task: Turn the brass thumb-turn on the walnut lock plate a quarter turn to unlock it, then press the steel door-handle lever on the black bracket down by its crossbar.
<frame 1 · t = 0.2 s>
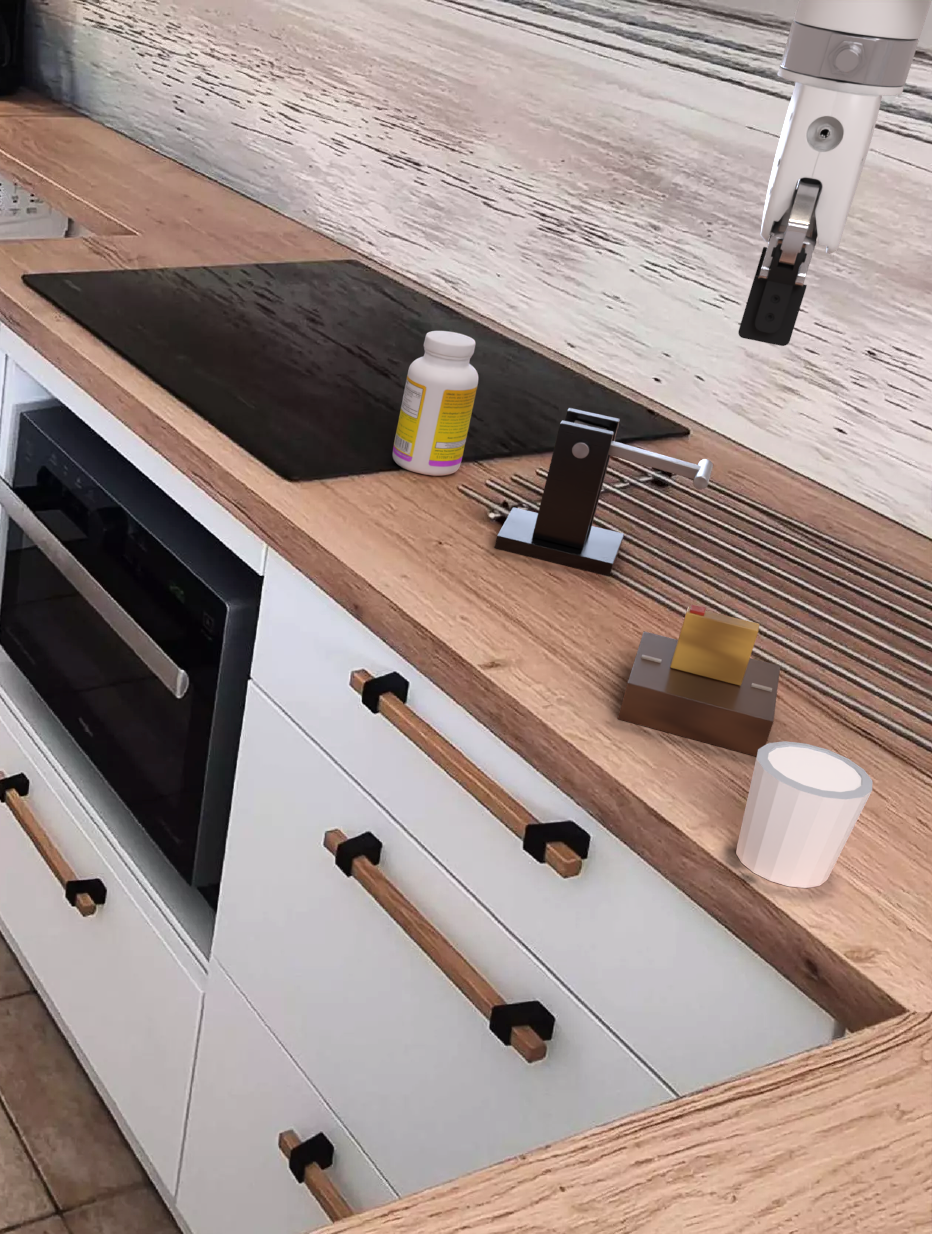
hand: (766, 323, 118), 28 cm above the table, tool pointing down, fingers open, 9 cm apart
door handle: (639, 455, 148), point 10 cm above the table, hinge at -3.5°
handle bracket: (558, 546, 154), on the table
lock plate: (694, 709, 128), on the table
shot glass: (780, 864, 110), on the table
supplement bottle: (424, 467, 170), on the table
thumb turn: (714, 644, 126), point 5 cm above the table, hinge at 0.0°
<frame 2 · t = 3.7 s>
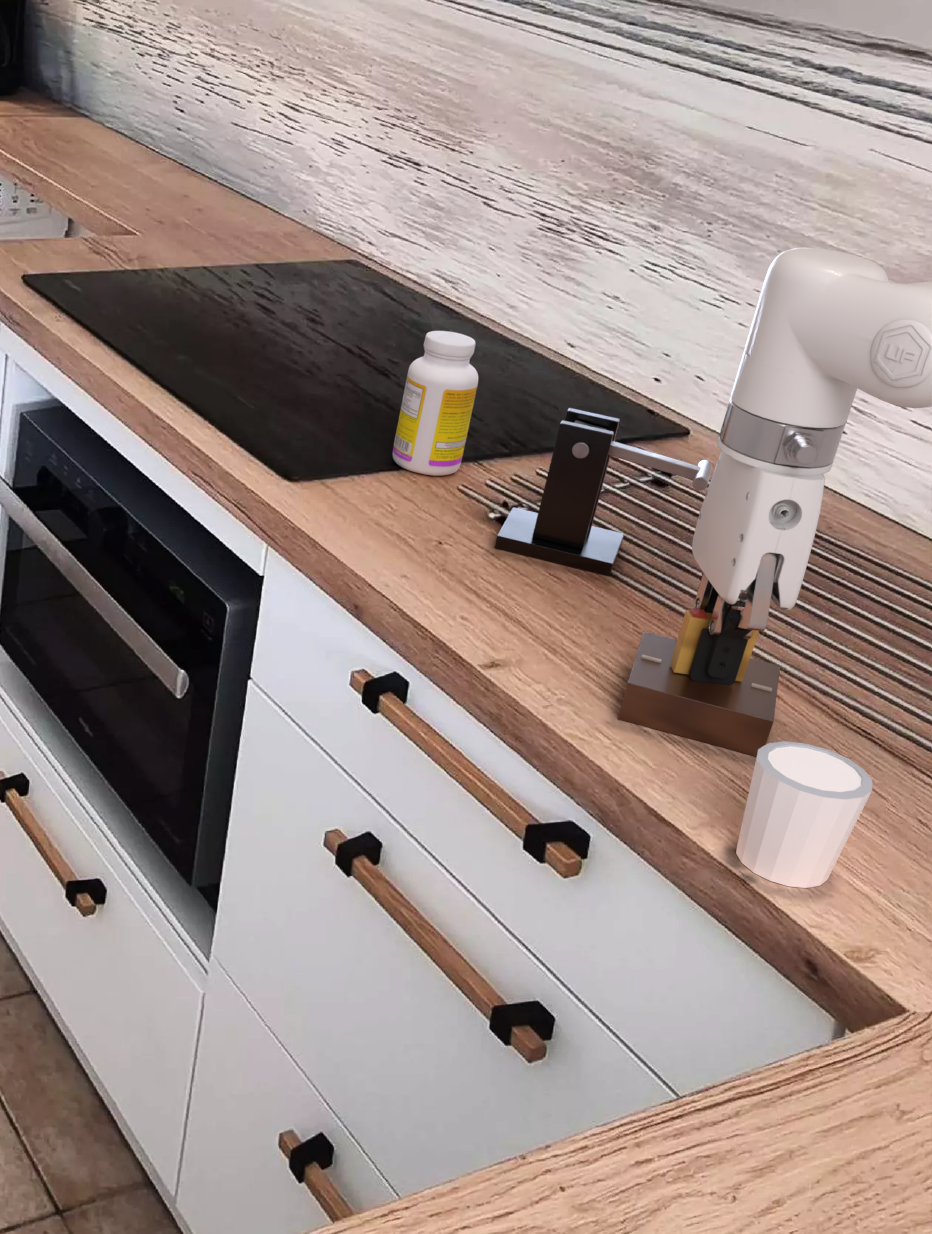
hand: (706, 672, 127), 3 cm above the table, tool pointing down, fingers closed, pressing on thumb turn
door handle: (638, 456, 148), point 10 cm above the table, hinge at -4.0°
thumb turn: (714, 644, 126), point 5 cm above the table, hinge at 17.7°, touching gripper
everything else where it was.
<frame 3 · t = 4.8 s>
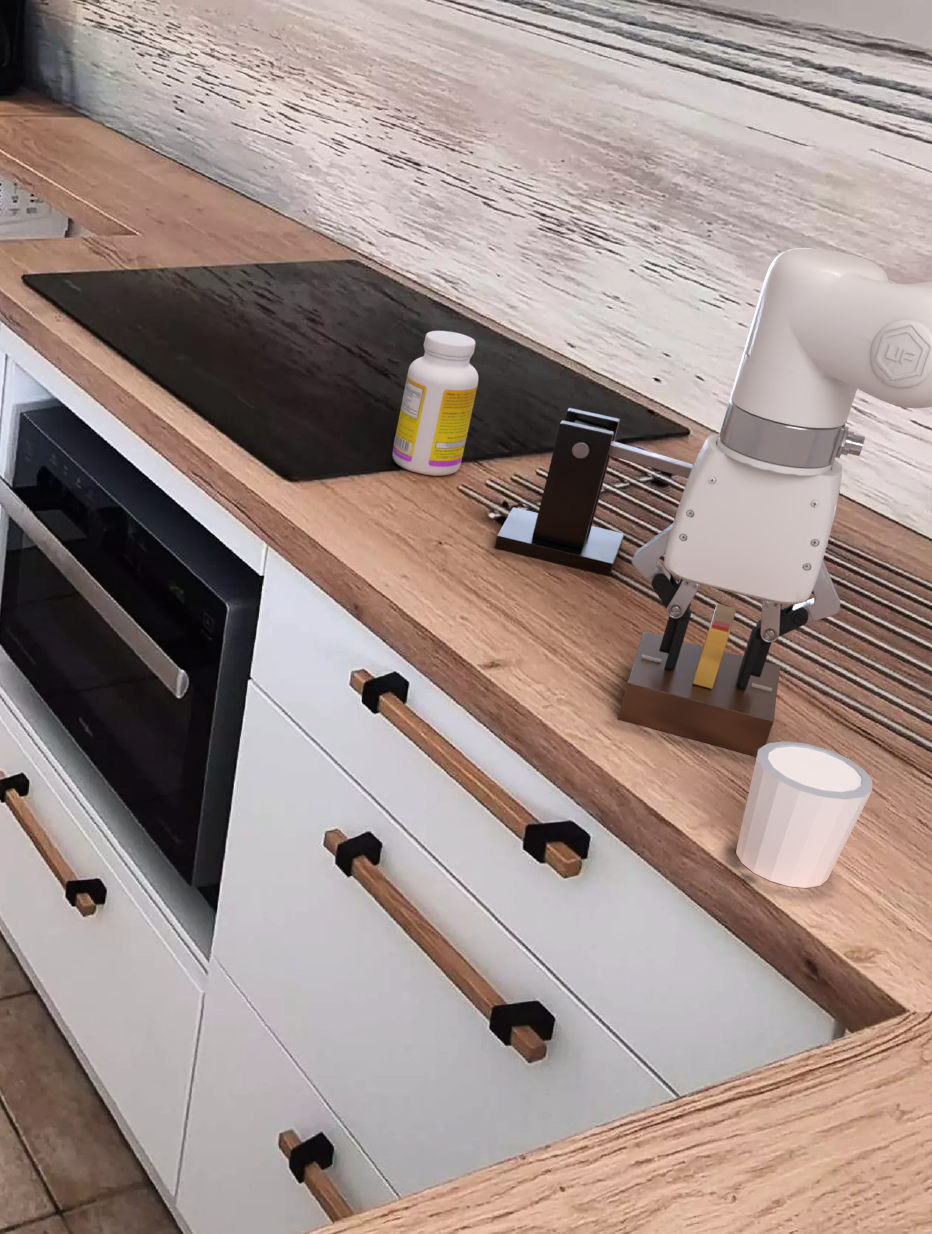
hand: (707, 669, 127), 3 cm above the table, tool pointing down, fingers open, 4 cm apart
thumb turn: (714, 644, 126), point 5 cm above the table, hinge at 88.4°
everything else where it was.
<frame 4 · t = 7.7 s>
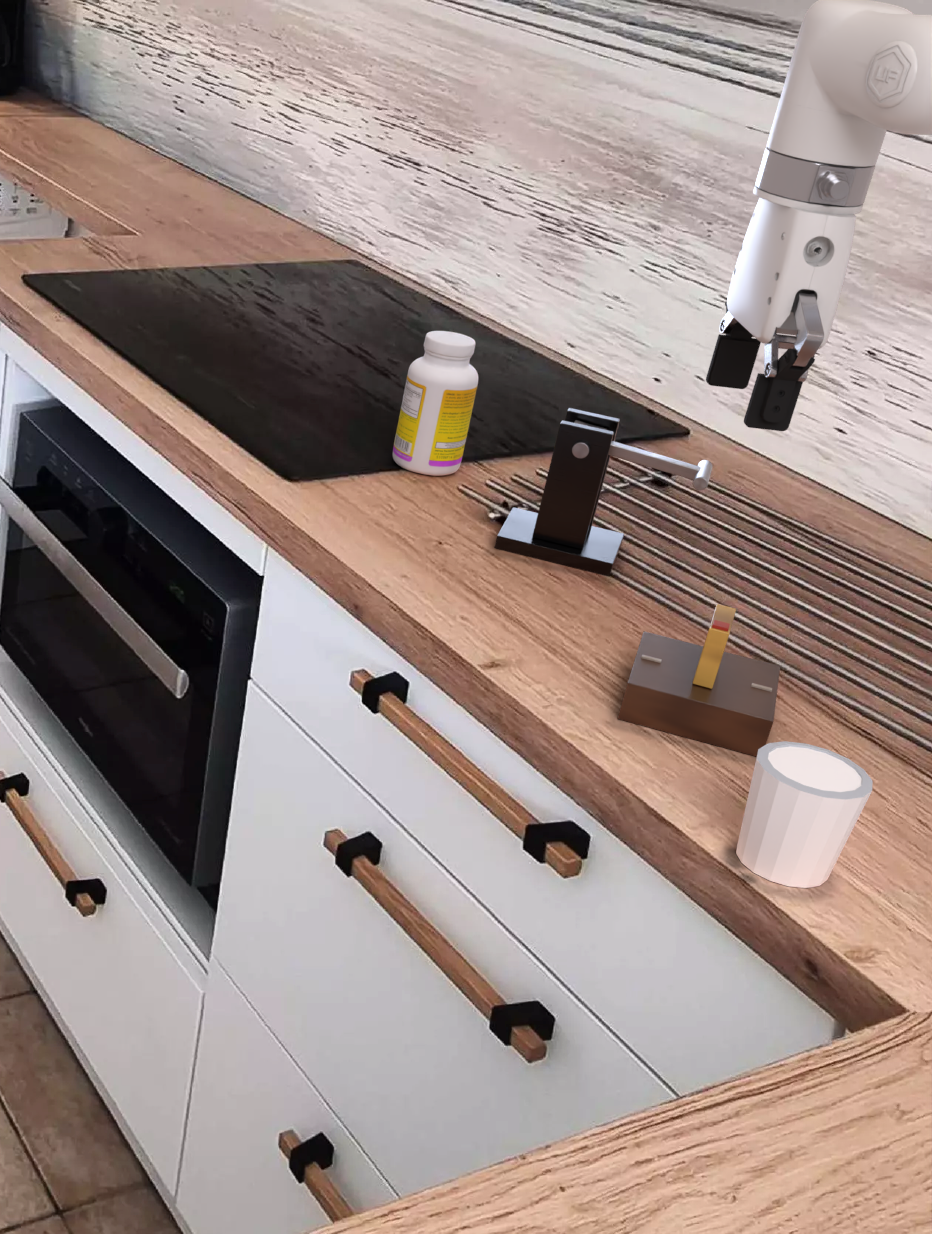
hand: (744, 406, 133), 19 cm above the table, tool pointing down, fingers open, 9 cm apart
nothing on the table moved.
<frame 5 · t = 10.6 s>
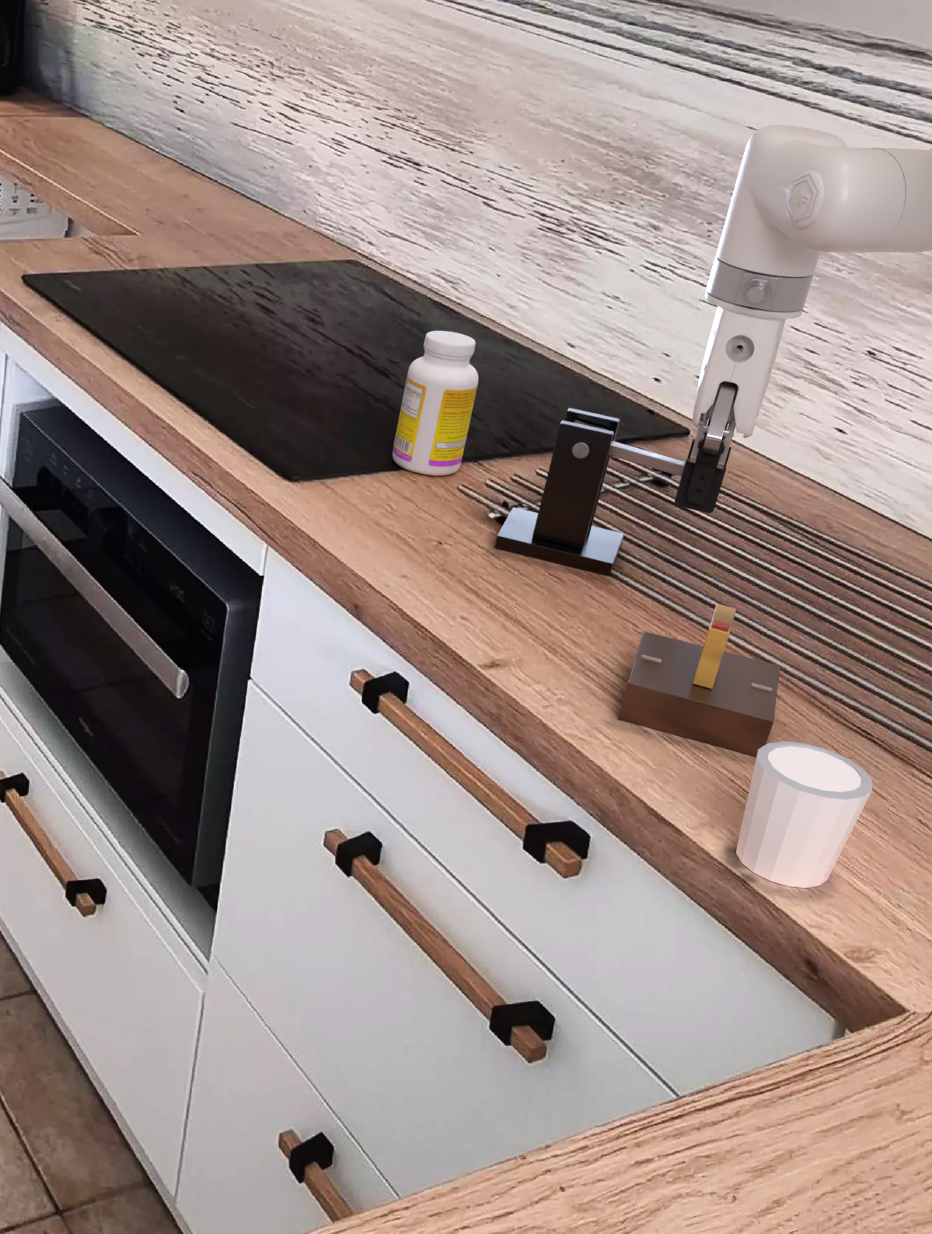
hand: (696, 495, 148), 7 cm above the table, tool pointing down, fingers closed on door handle, 5 cm apart
door handle: (638, 456, 148), point 10 cm above the table, hinge at -4.0°, touching gripper
everything else where it was.
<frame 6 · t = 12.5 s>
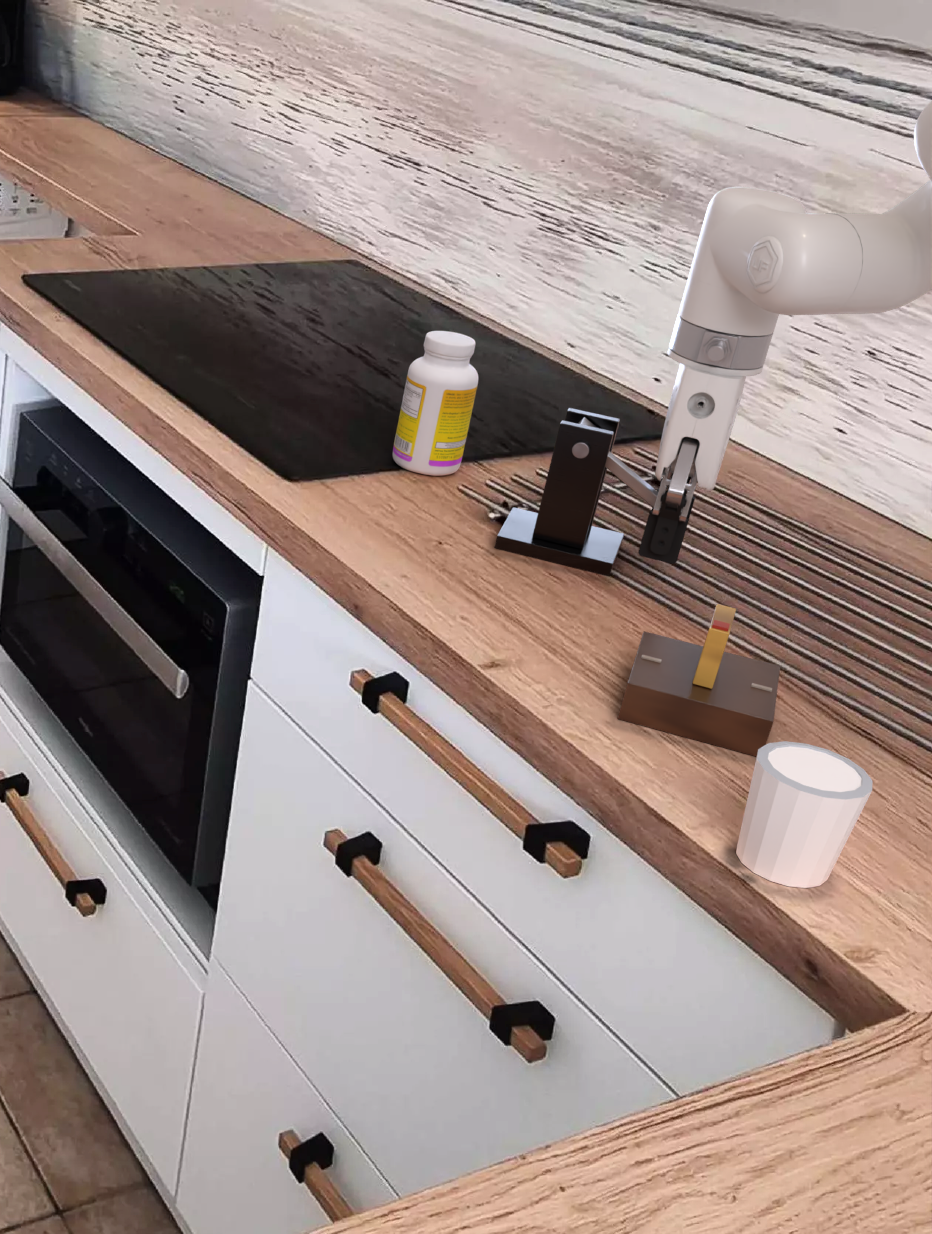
hand: (661, 544, 150), 2 cm above the table, tool pointing down, fingers open, 5 cm apart
door handle: (626, 475, 149), point 8 cm above the table, hinge at -28.4°
everything else where it was.
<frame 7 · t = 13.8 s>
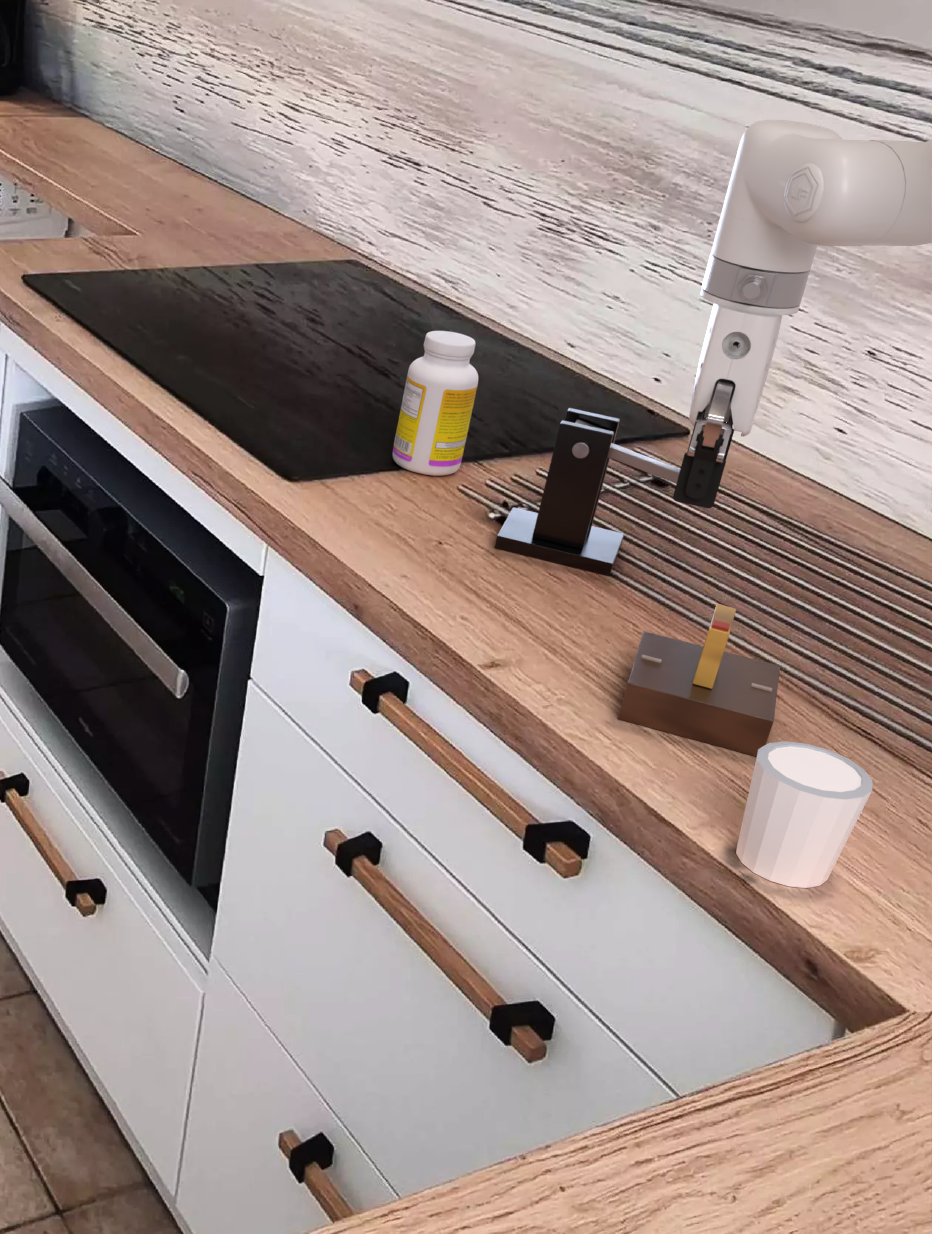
hand: (697, 486, 145), 9 cm above the table, tool pointing down, fingers open, 9 cm apart
door handle: (637, 460, 148), point 9 cm above the table, hinge at -8.9°, touching gripper
everything else where it was.
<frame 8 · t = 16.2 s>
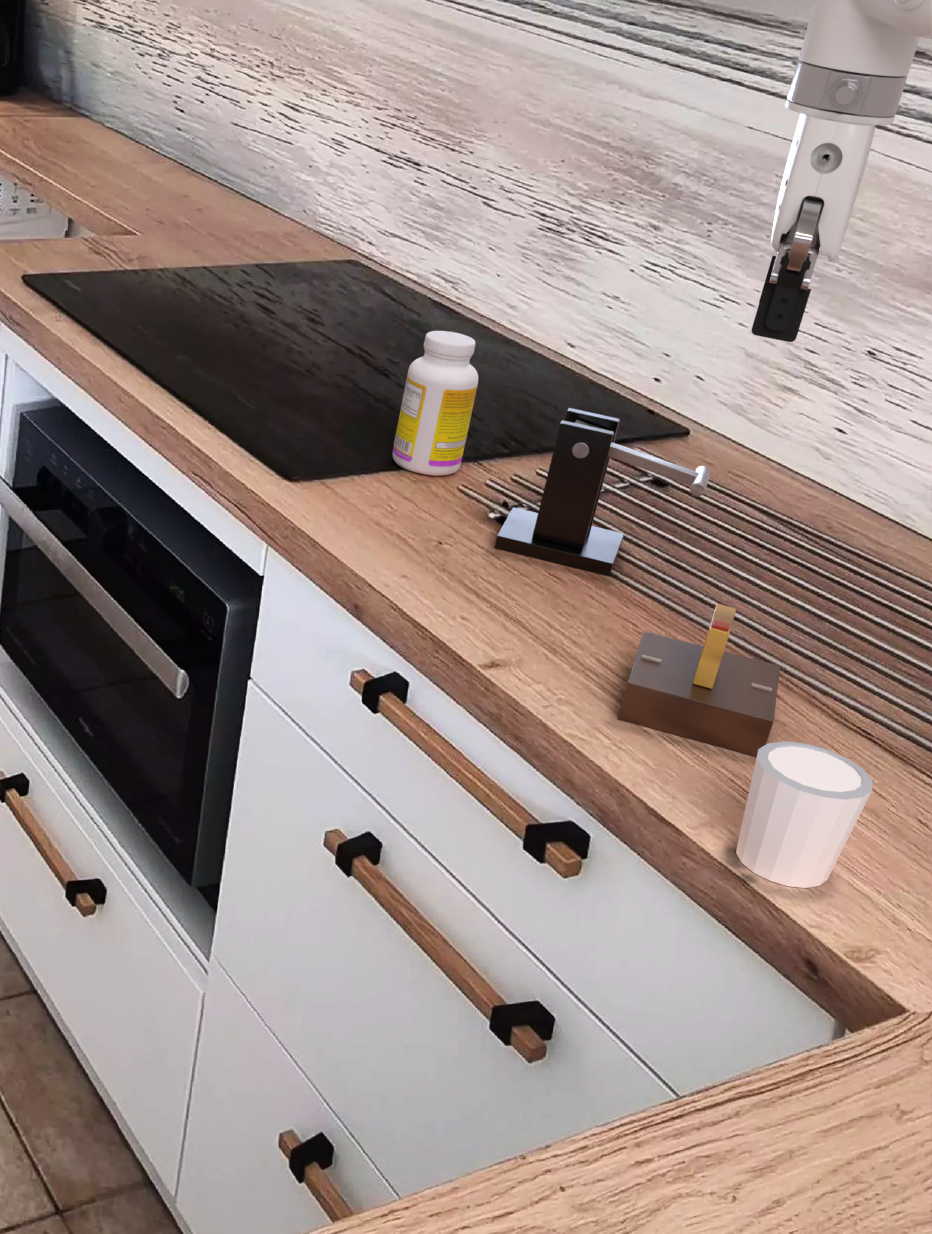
hand: (775, 323, 134), 24 cm above the table, tool pointing down, fingers open, 9 cm apart
door handle: (637, 459, 148), point 9 cm above the table, hinge at -7.2°
everything else where it was.
at the end: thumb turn at +88° (first picture: +0°); door handle reached -32° during the clip, -7° at the end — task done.
